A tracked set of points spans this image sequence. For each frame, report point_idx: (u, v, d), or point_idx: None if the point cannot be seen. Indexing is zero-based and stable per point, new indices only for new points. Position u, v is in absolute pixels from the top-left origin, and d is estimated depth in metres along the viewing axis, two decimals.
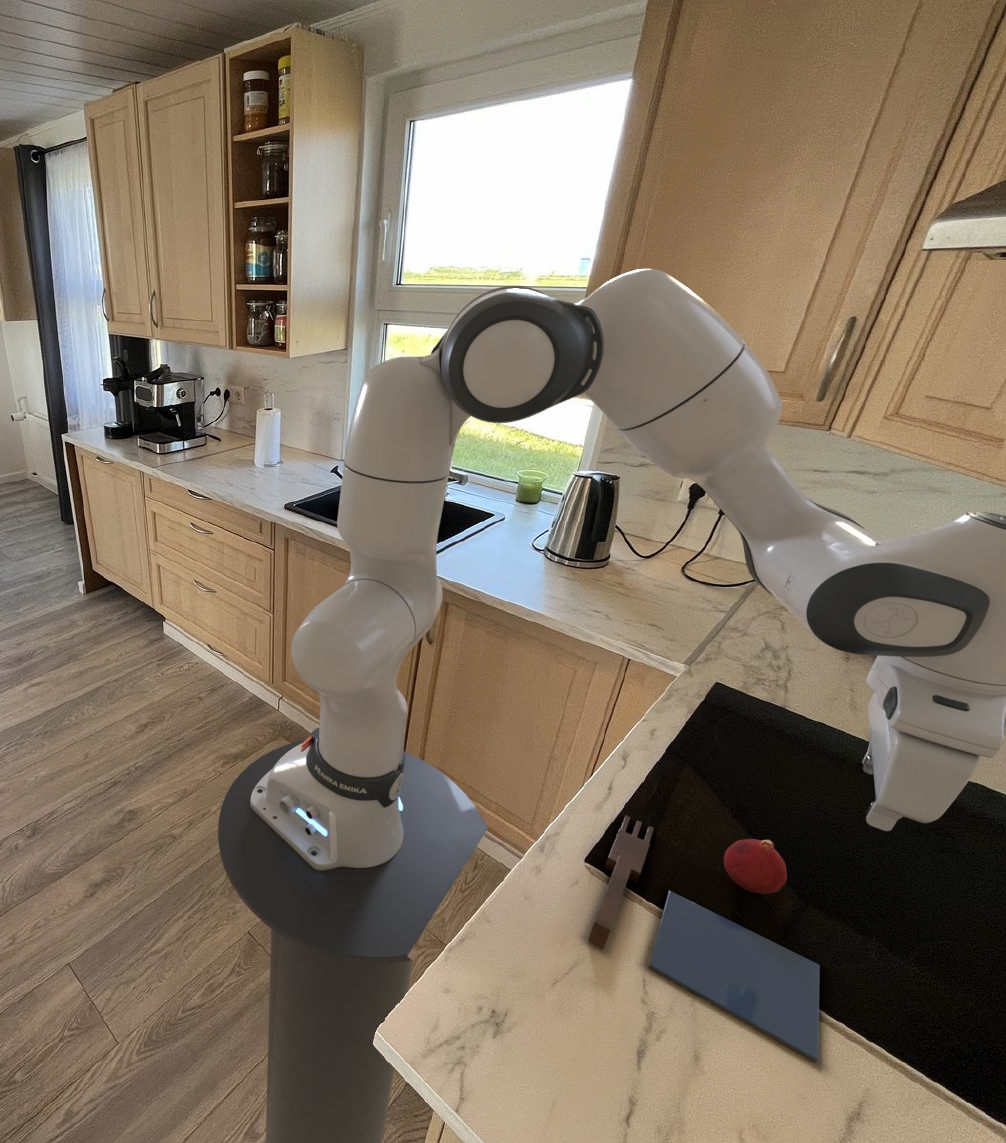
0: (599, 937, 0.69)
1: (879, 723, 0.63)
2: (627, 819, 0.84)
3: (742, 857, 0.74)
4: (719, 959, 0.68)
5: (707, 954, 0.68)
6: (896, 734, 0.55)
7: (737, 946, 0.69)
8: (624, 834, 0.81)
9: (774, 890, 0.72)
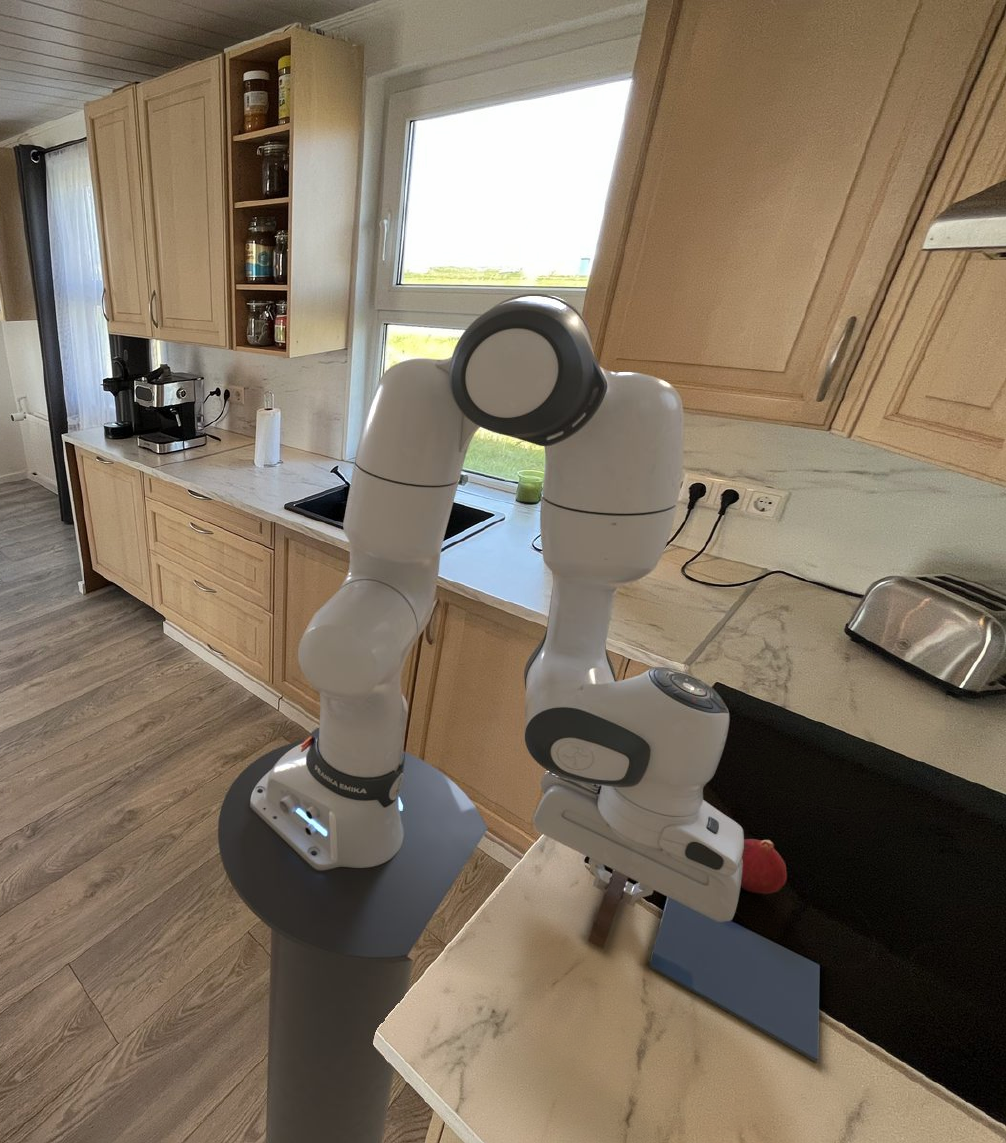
0: (599, 937, 0.69)
1: (608, 849, 0.70)
2: None
3: (742, 857, 0.74)
4: (719, 959, 0.68)
5: (707, 954, 0.68)
6: (726, 875, 0.62)
7: (737, 946, 0.69)
8: None
9: (774, 890, 0.72)
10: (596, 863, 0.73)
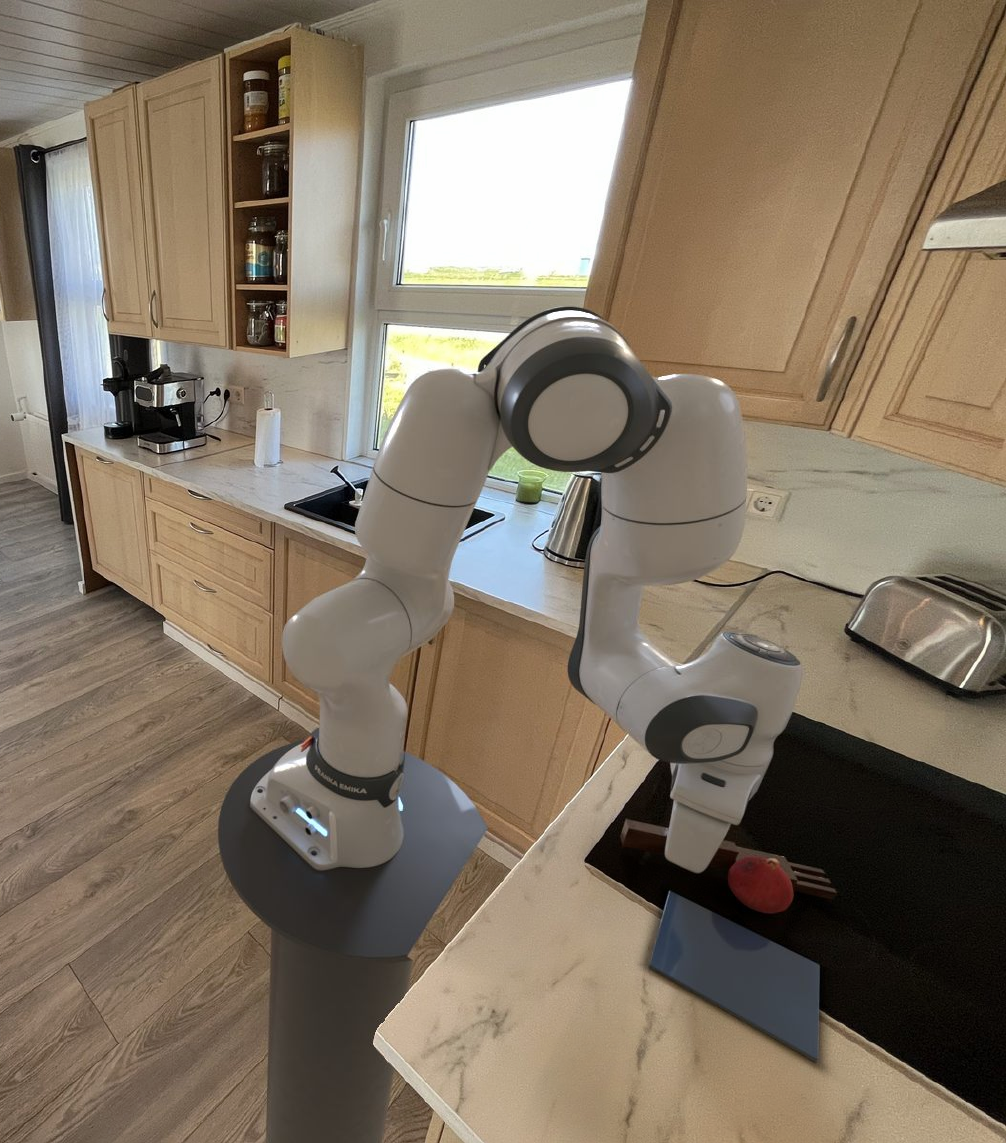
0: (623, 834, 0.80)
1: None
2: (817, 870, 0.76)
3: (747, 877, 0.71)
4: (719, 959, 0.68)
5: (707, 954, 0.68)
6: (675, 803, 0.69)
7: (737, 946, 0.69)
8: (782, 860, 0.76)
9: (781, 910, 0.70)
10: None
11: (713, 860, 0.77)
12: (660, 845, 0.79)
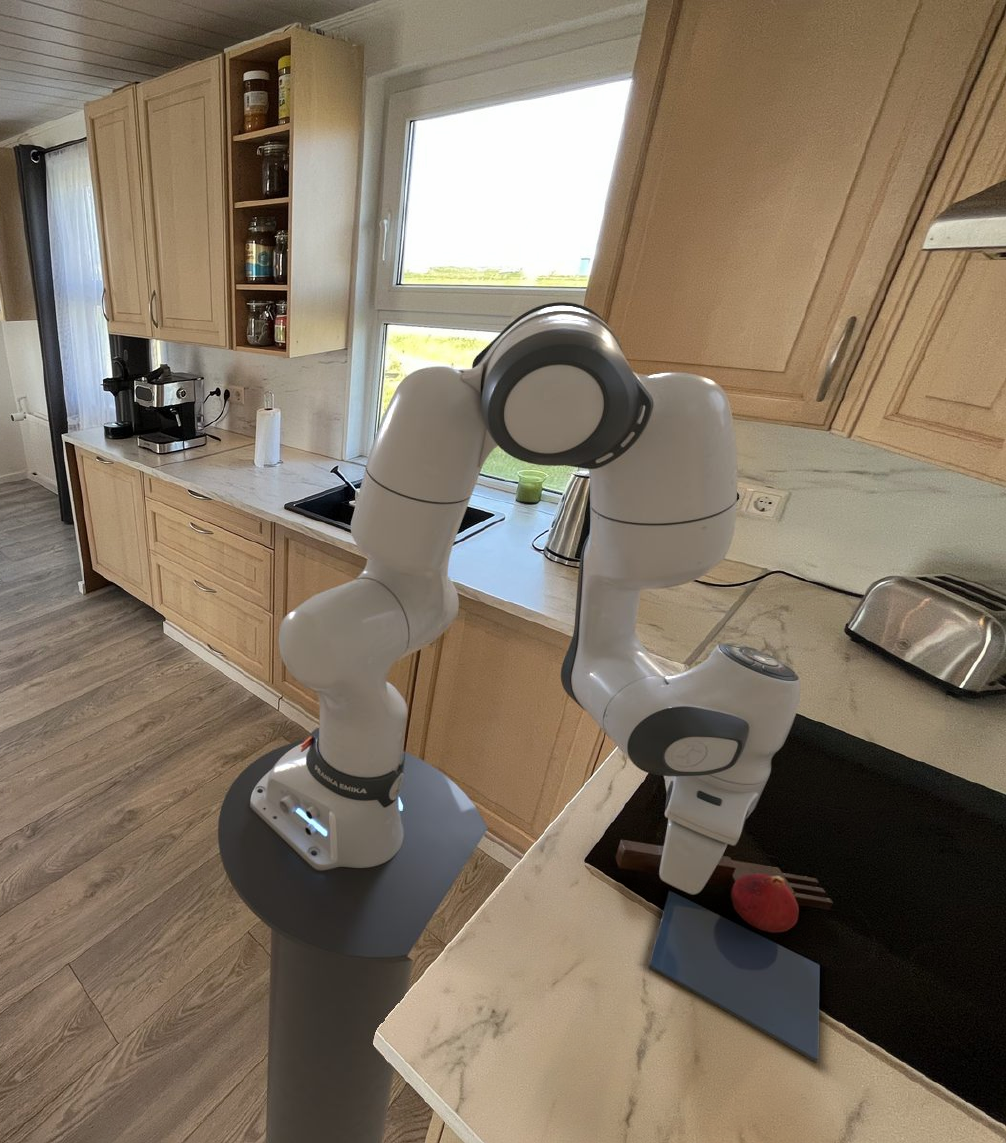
0: (619, 855, 0.78)
1: None
2: (810, 879, 0.74)
3: (755, 898, 0.69)
4: (719, 959, 0.68)
5: (707, 954, 0.68)
6: (670, 822, 0.67)
7: (737, 946, 0.69)
8: (776, 872, 0.75)
9: (789, 928, 0.68)
10: None
11: (710, 877, 0.75)
12: (657, 865, 0.76)
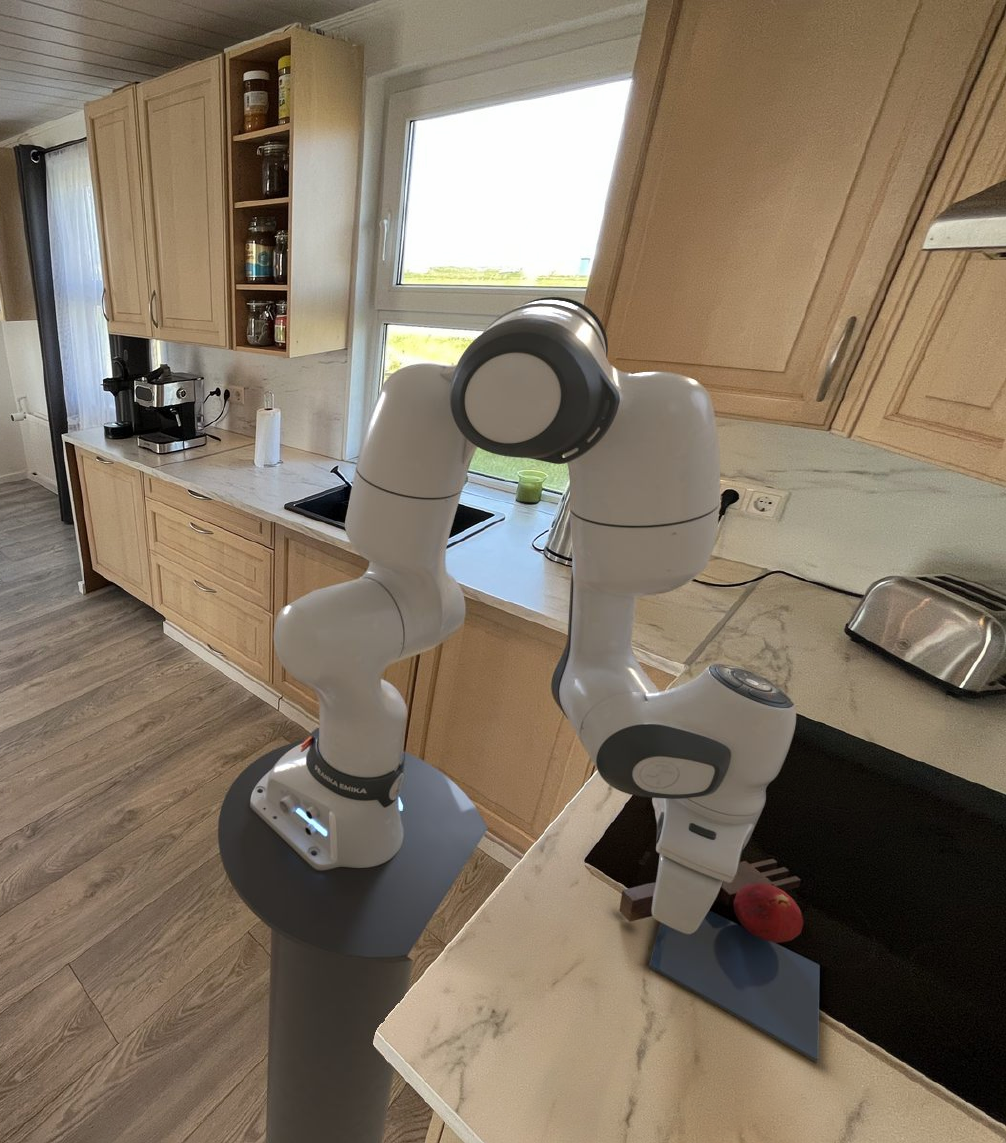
0: (626, 908, 0.71)
1: None
2: (770, 861, 0.76)
3: (766, 923, 0.66)
4: (719, 959, 0.68)
5: (707, 954, 0.68)
6: (661, 857, 0.63)
7: (737, 946, 0.69)
8: (747, 866, 0.75)
9: None
10: None
11: None
12: None
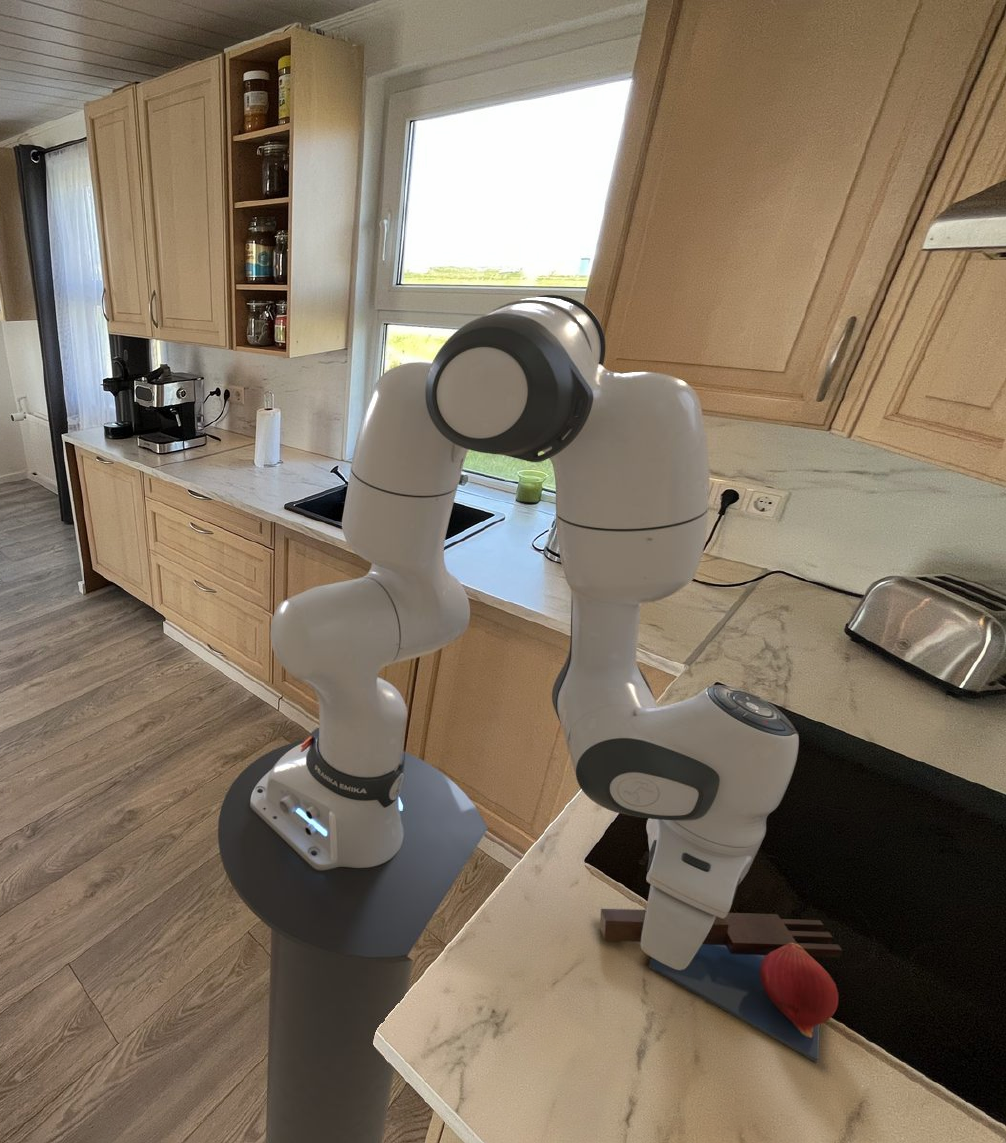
0: (602, 926, 0.70)
1: None
2: (814, 922, 0.67)
3: None
4: (719, 959, 0.68)
5: (707, 954, 0.68)
6: (652, 888, 0.60)
7: None
8: (775, 920, 0.67)
9: None
10: None
11: None
12: None
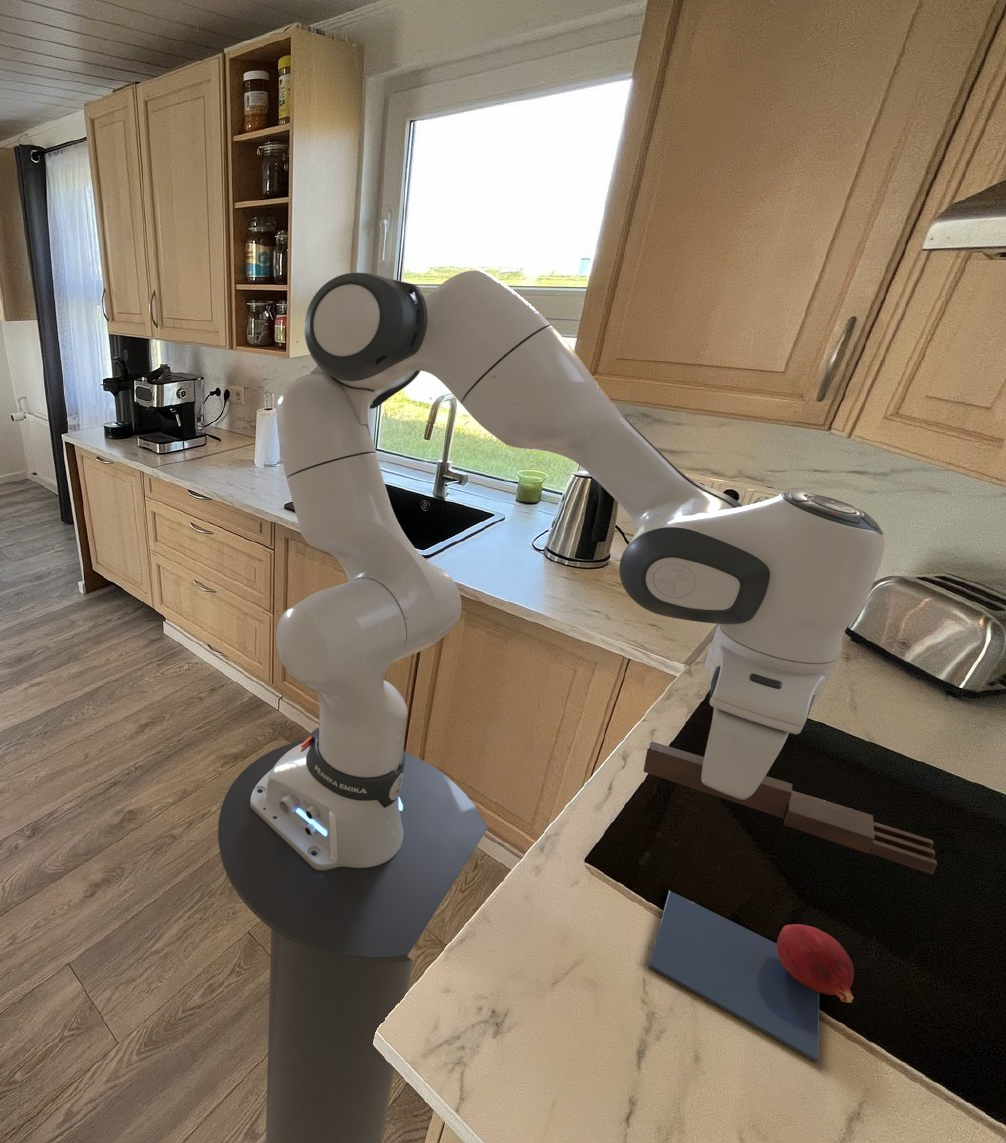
0: None
1: None
2: (921, 838, 0.56)
3: (806, 971, 0.63)
4: (719, 959, 0.68)
5: (707, 954, 0.68)
6: (716, 712, 0.55)
7: (737, 946, 0.69)
8: (865, 817, 0.58)
9: None
10: None
11: (758, 802, 0.62)
12: (688, 774, 0.66)
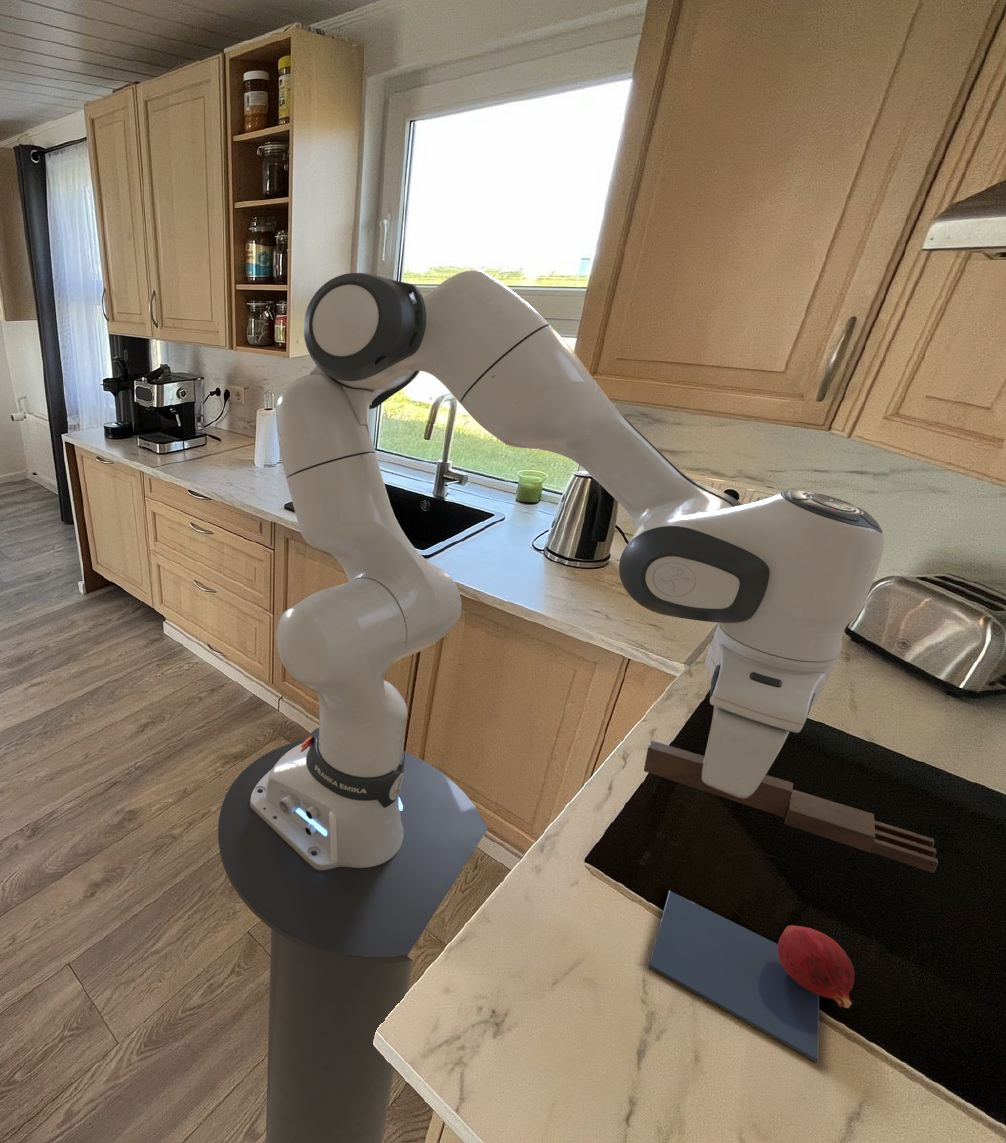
0: None
1: None
2: (922, 837, 0.56)
3: (805, 976, 0.63)
4: (719, 959, 0.68)
5: (707, 954, 0.68)
6: (716, 711, 0.55)
7: (737, 946, 0.69)
8: (866, 816, 0.58)
9: None
10: None
11: (759, 801, 0.62)
12: (689, 773, 0.65)
